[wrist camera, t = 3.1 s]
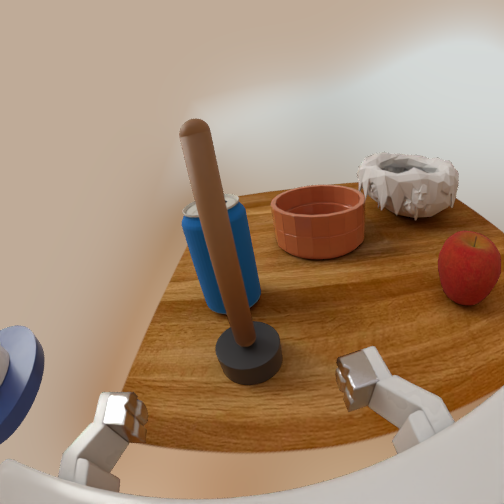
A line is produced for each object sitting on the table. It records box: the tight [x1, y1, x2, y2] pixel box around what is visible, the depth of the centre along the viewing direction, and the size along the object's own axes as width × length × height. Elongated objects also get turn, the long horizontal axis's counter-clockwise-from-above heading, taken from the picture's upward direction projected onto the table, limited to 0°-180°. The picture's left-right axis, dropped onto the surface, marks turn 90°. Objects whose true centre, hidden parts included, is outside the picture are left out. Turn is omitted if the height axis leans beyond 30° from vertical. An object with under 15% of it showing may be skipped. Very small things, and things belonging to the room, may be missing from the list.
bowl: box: [357, 152, 458, 220], centre depth 43 cm, size 21×20×10 cm
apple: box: [438, 231, 501, 305], centre depth 22 cm, size 8×8×8 cm
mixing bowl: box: [271, 185, 365, 259], centre depth 40 cm, size 14×14×6 cm
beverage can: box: [182, 194, 261, 314], centre depth 29 cm, size 6×6×12 cm
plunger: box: [179, 119, 282, 385], centre depth 19 cm, size 6×6×20 cm
